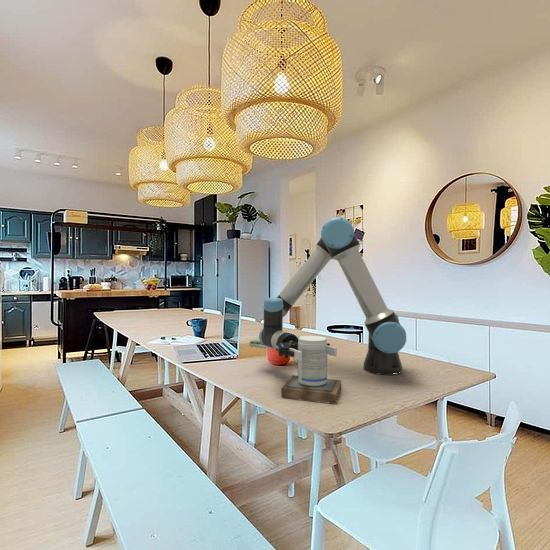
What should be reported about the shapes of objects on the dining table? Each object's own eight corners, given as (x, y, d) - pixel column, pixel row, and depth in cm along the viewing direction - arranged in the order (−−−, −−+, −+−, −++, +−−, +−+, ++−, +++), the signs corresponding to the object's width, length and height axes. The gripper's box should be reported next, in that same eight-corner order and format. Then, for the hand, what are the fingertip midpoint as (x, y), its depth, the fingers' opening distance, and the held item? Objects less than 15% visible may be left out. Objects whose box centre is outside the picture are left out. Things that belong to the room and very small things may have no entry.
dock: (341, 388, 126) (341, 379, 126) (335, 403, 112) (335, 392, 112) (292, 383, 131) (292, 374, 131) (281, 397, 117) (281, 386, 117)
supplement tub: (333, 384, 120) (333, 339, 120) (310, 389, 115) (310, 341, 114) (313, 376, 128) (314, 334, 128) (291, 381, 123) (292, 336, 123)
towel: (282, 352, 184) (282, 341, 184) (248, 346, 196) (248, 336, 196) (301, 346, 199) (301, 336, 199) (268, 341, 211) (269, 332, 211)
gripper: (313, 349, 143) (349, 362, 124) (254, 355, 131) (284, 370, 112) (313, 330, 143) (349, 339, 124) (255, 334, 131) (285, 345, 112)
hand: (319, 354), depth 118 cm, fingers open, 13 cm apart
